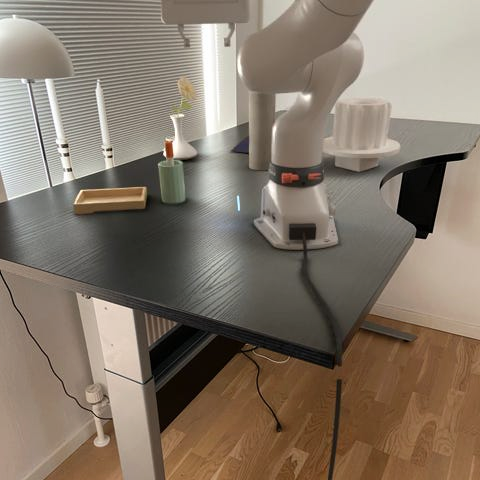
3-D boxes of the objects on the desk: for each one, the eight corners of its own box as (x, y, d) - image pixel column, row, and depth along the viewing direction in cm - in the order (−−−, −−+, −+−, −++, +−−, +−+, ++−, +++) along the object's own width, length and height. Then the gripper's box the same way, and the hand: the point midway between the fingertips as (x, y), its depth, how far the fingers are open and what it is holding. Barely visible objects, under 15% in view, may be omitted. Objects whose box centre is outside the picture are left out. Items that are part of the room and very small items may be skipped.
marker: (177, 200, 125) (172, 143, 117) (169, 200, 125) (164, 143, 117) (177, 197, 127) (172, 141, 119) (170, 198, 127) (164, 141, 119)
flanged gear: (412, 166, 151) (424, 101, 141) (364, 182, 137) (373, 111, 127) (349, 152, 167) (355, 93, 157) (300, 165, 153) (304, 102, 143)
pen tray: (145, 210, 121) (143, 200, 120) (75, 214, 119) (72, 204, 118) (147, 196, 130) (146, 186, 129) (82, 199, 129) (80, 190, 127)
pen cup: (186, 204, 124) (182, 165, 119) (162, 206, 123) (157, 167, 118) (185, 197, 129) (182, 159, 124) (162, 198, 129) (158, 160, 123)
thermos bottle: (275, 164, 156) (277, 67, 140) (272, 171, 149) (274, 70, 134) (251, 163, 157) (251, 67, 142) (247, 170, 150) (246, 70, 135)
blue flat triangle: (321, 136, 183) (321, 126, 180) (294, 165, 162) (294, 154, 160) (263, 131, 192) (263, 122, 189) (230, 158, 171) (229, 148, 169)
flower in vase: (174, 164, 157) (167, 80, 144) (158, 157, 165) (149, 77, 151) (207, 158, 163) (203, 77, 150) (190, 152, 171) (185, 74, 158)
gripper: (155, -27, 101) (162, 48, 108) (251, -28, 102) (251, 46, 110) (156, -25, 106) (163, 47, 114) (247, -26, 108) (248, 45, 115)
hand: (207, 47), depth 112 cm, fingers open, 8 cm apart
